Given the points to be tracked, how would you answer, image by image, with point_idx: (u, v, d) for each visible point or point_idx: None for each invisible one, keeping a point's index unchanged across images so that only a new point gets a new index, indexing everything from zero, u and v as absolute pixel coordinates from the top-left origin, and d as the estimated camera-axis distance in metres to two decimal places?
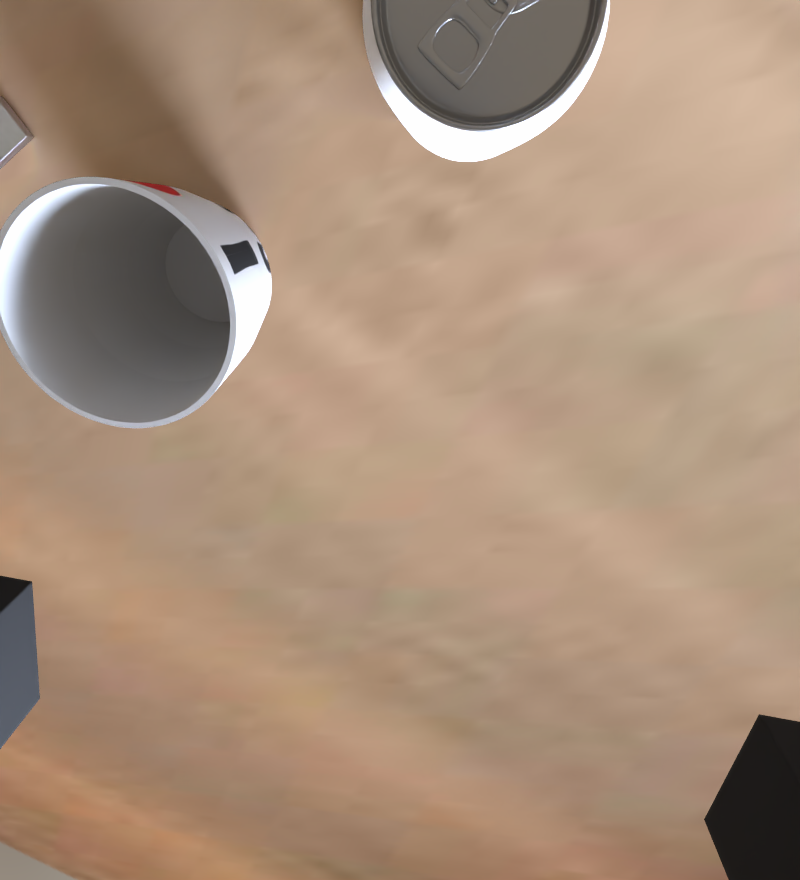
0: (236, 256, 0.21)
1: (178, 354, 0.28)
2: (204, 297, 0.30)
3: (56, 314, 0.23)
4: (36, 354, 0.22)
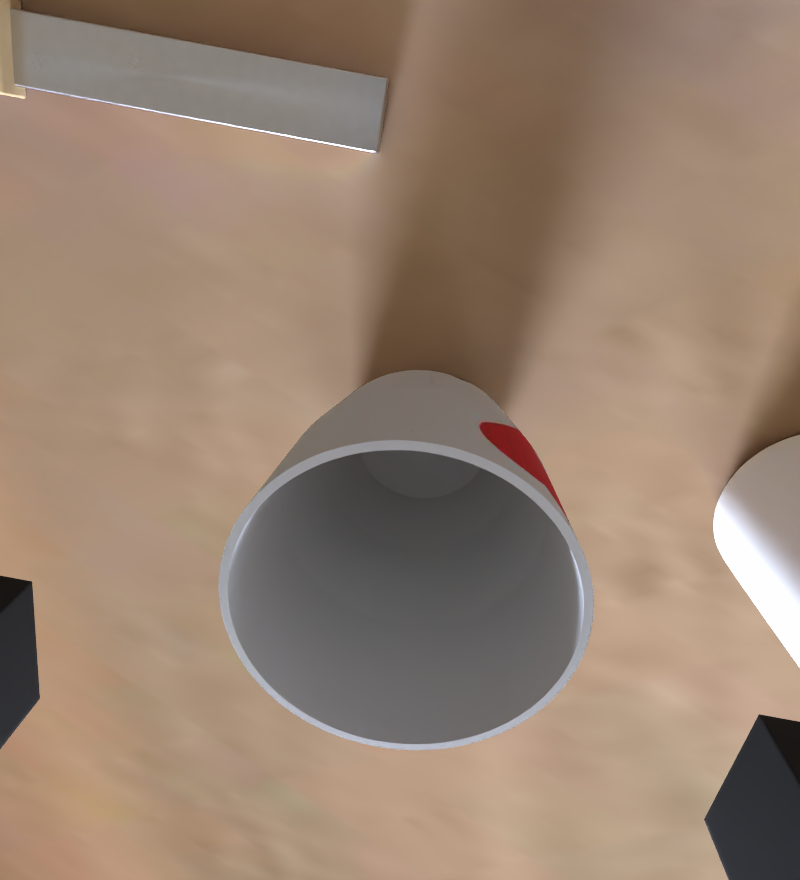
0: None
1: (331, 524, 0.20)
2: None
3: None
4: (244, 542, 0.14)
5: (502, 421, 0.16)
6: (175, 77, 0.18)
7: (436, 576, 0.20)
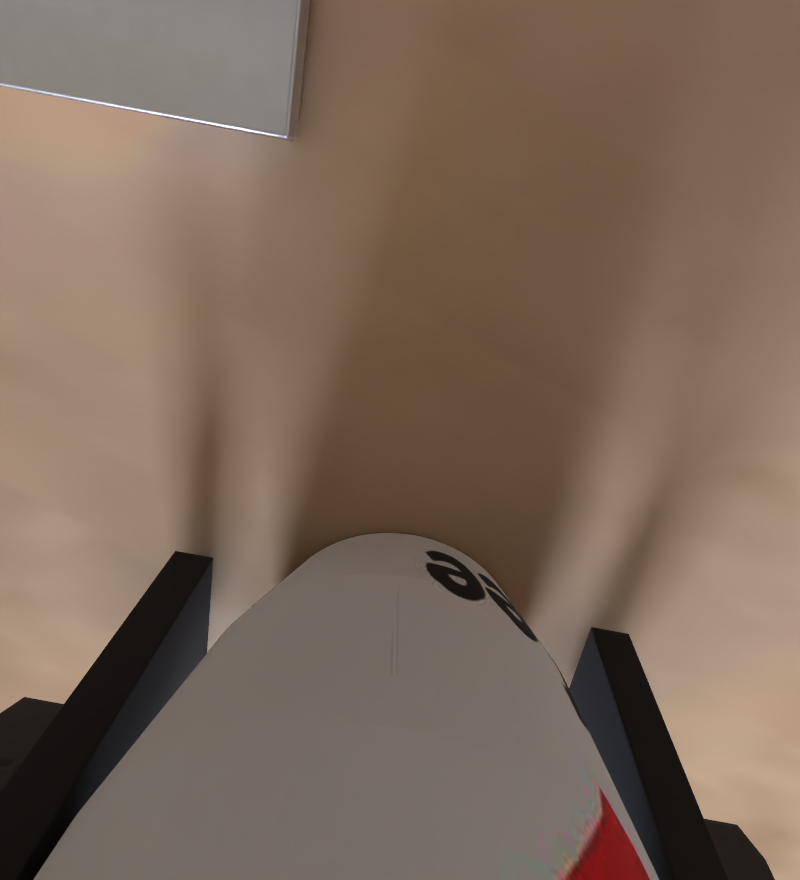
0: None
1: None
2: None
3: None
4: None
5: (573, 834, 0.06)
6: None
7: None
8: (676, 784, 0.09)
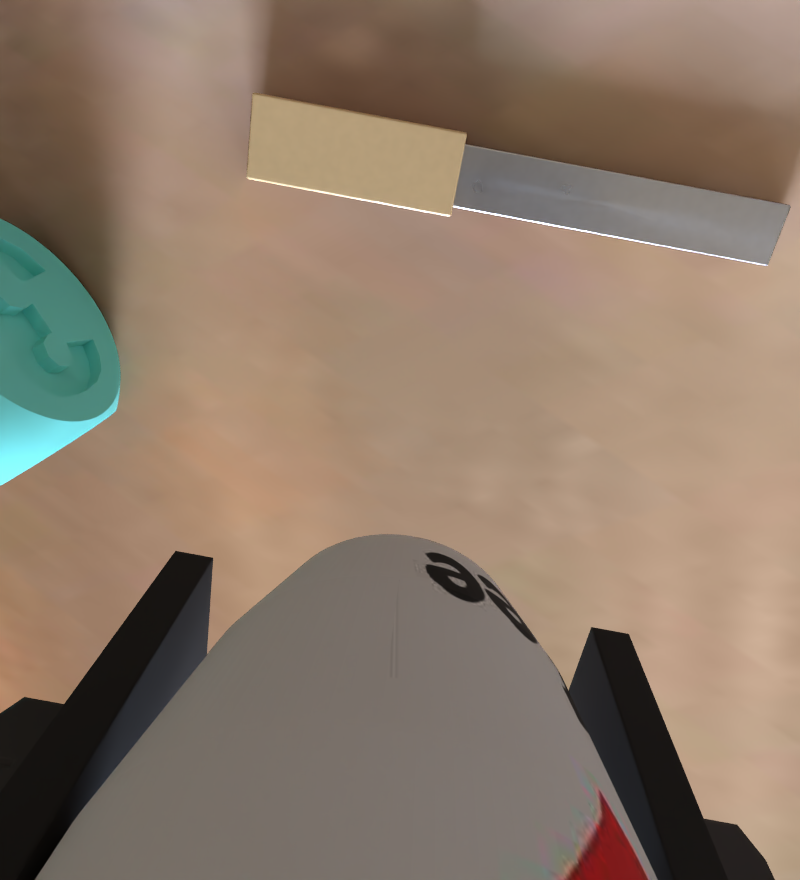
0: None
1: None
2: None
3: None
4: None
5: (572, 837, 0.06)
6: (600, 202, 0.21)
7: None
8: (676, 784, 0.09)
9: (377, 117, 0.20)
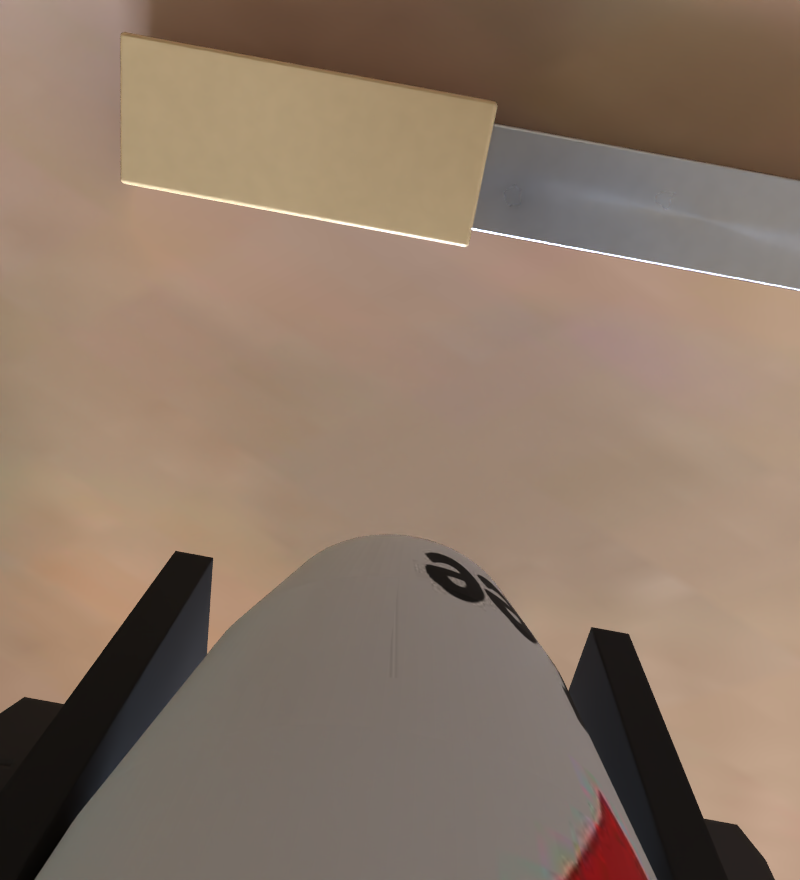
0: None
1: None
2: None
3: None
4: None
5: (572, 837, 0.06)
6: (722, 222, 0.12)
7: None
8: (675, 784, 0.09)
9: (340, 75, 0.12)
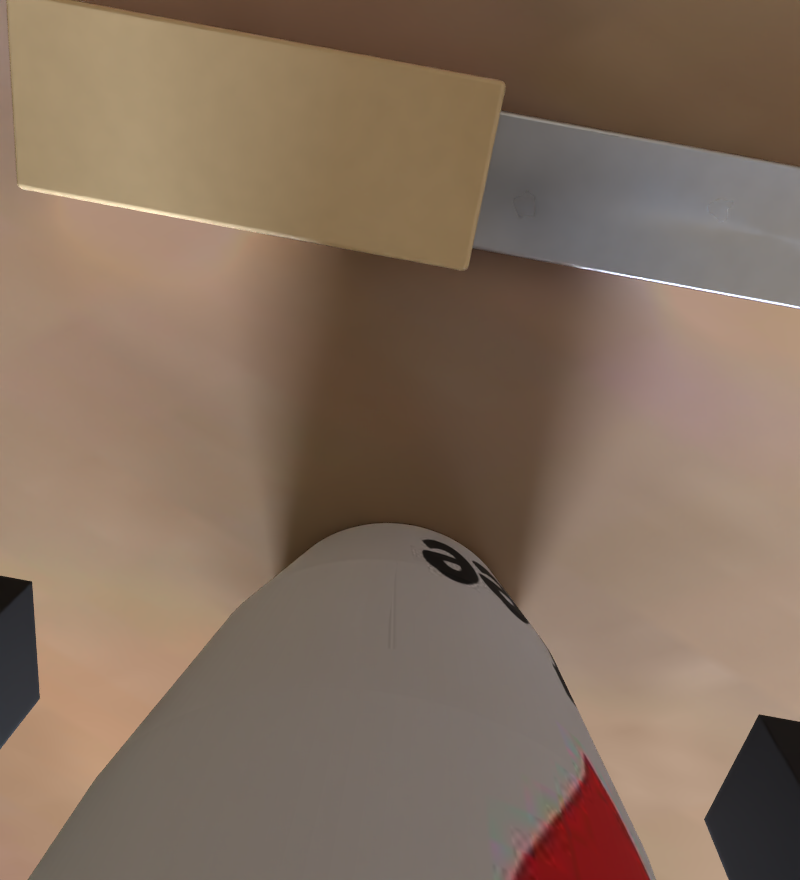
0: None
1: None
2: None
3: None
4: None
5: (556, 790, 0.06)
6: (794, 239, 0.10)
7: None
8: None
9: (297, 46, 0.09)
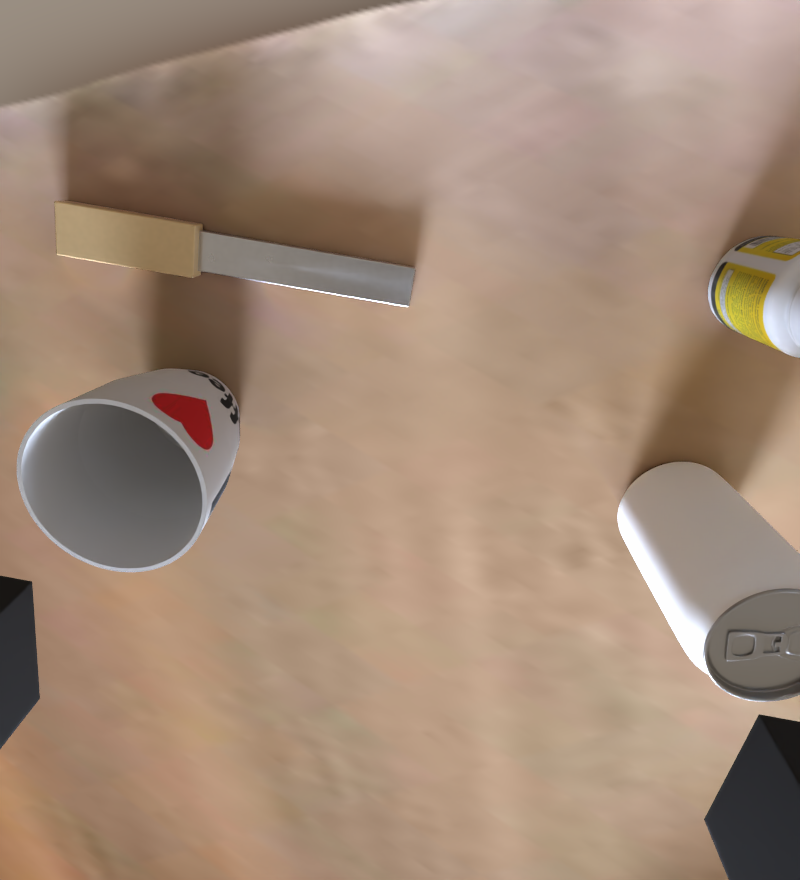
0: (216, 500, 0.29)
1: (124, 464, 0.33)
2: None
3: (65, 422, 0.28)
4: (32, 457, 0.27)
5: (184, 394, 0.29)
6: (293, 267, 0.32)
7: (189, 494, 0.33)
8: None
9: (136, 216, 0.31)
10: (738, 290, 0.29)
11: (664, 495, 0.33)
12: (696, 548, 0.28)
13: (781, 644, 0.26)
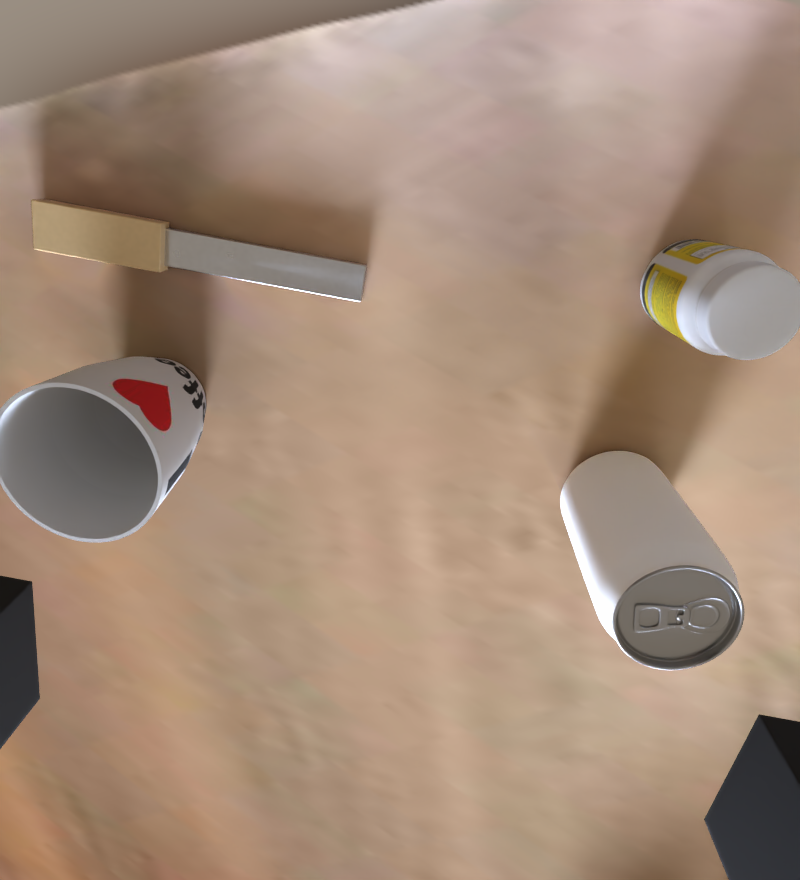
0: (174, 478, 0.31)
1: (96, 444, 0.36)
2: None
3: (37, 404, 0.31)
4: (5, 435, 0.30)
5: (146, 380, 0.31)
6: (252, 263, 0.34)
7: (156, 474, 0.36)
8: None
9: (106, 214, 0.33)
10: (660, 290, 0.31)
11: (597, 481, 0.35)
12: (615, 529, 0.30)
13: (684, 617, 0.28)
